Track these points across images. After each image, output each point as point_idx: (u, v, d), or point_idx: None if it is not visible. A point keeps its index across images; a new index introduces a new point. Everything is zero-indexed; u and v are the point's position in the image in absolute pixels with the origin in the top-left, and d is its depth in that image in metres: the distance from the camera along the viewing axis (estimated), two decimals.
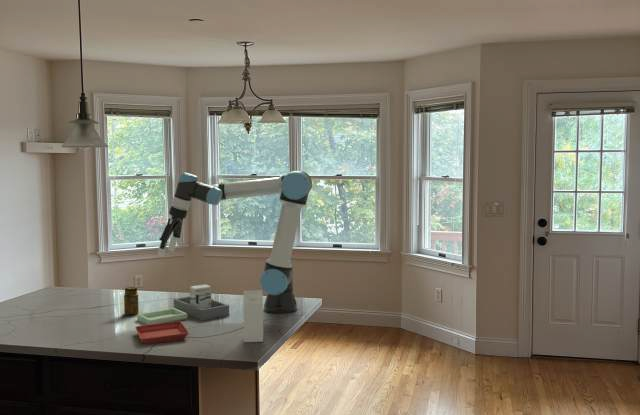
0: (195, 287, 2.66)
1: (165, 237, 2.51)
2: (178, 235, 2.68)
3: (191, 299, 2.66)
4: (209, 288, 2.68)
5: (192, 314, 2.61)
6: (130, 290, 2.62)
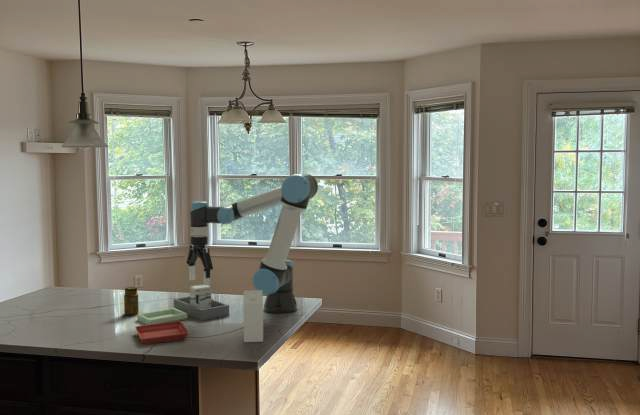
0: (195, 287, 2.66)
1: (211, 265, 2.60)
2: None
3: (191, 299, 2.66)
4: (209, 288, 2.68)
5: (192, 314, 2.61)
6: (130, 290, 2.62)
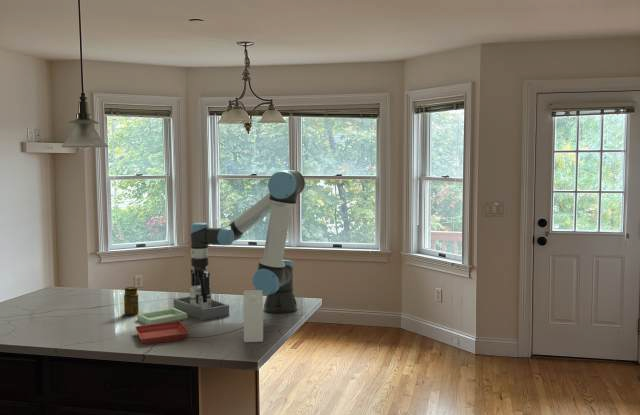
0: (195, 287, 2.66)
1: (208, 291, 2.64)
2: None
3: (191, 299, 2.66)
4: None
5: (192, 314, 2.61)
6: (130, 290, 2.62)
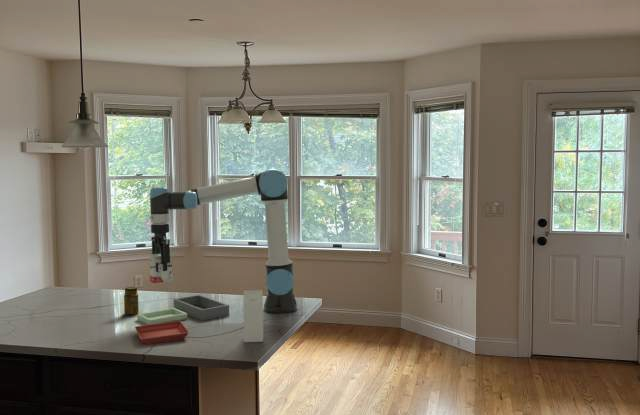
0: (155, 255, 2.52)
1: (168, 258, 2.50)
2: None
3: (151, 267, 2.52)
4: (170, 256, 2.54)
5: (192, 314, 2.61)
6: (130, 290, 2.62)
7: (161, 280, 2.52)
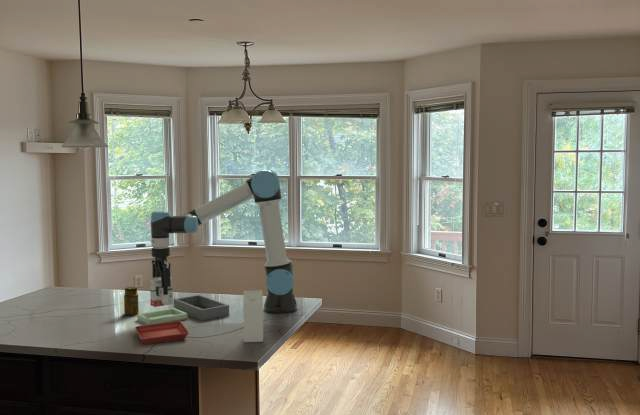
0: (155, 278, 2.53)
1: (169, 282, 2.50)
2: None
3: (151, 291, 2.53)
4: (170, 280, 2.55)
5: (192, 314, 2.61)
6: (130, 290, 2.62)
7: (161, 304, 2.53)
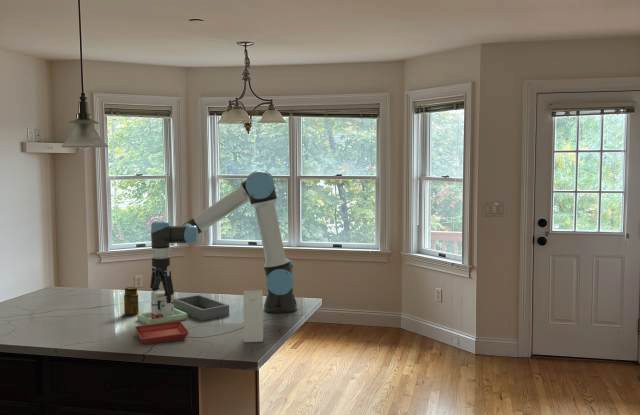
0: (157, 292, 2.53)
1: (172, 290, 2.49)
2: None
3: (152, 305, 2.53)
4: None
5: (192, 314, 2.61)
6: (130, 290, 2.62)
7: None
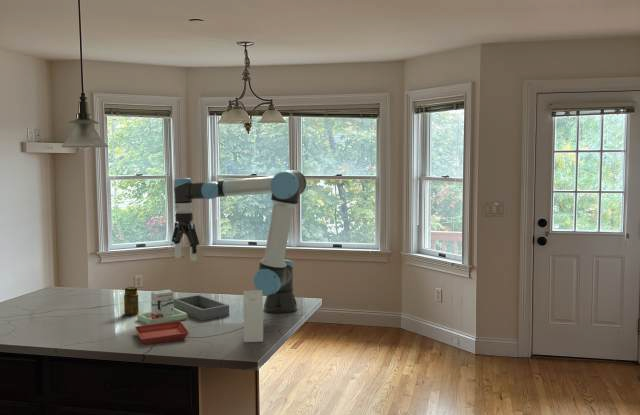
0: (157, 292, 2.53)
1: (197, 241, 2.60)
2: None
3: (152, 305, 2.53)
4: (171, 293, 2.55)
5: (192, 314, 2.61)
6: (130, 290, 2.62)
7: None
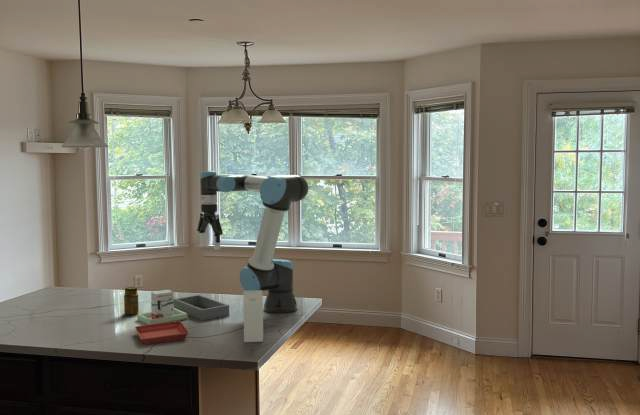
0: (157, 292, 2.53)
1: (221, 231, 2.76)
2: None
3: (152, 305, 2.53)
4: (171, 293, 2.55)
5: (192, 314, 2.61)
6: (130, 290, 2.62)
7: None
